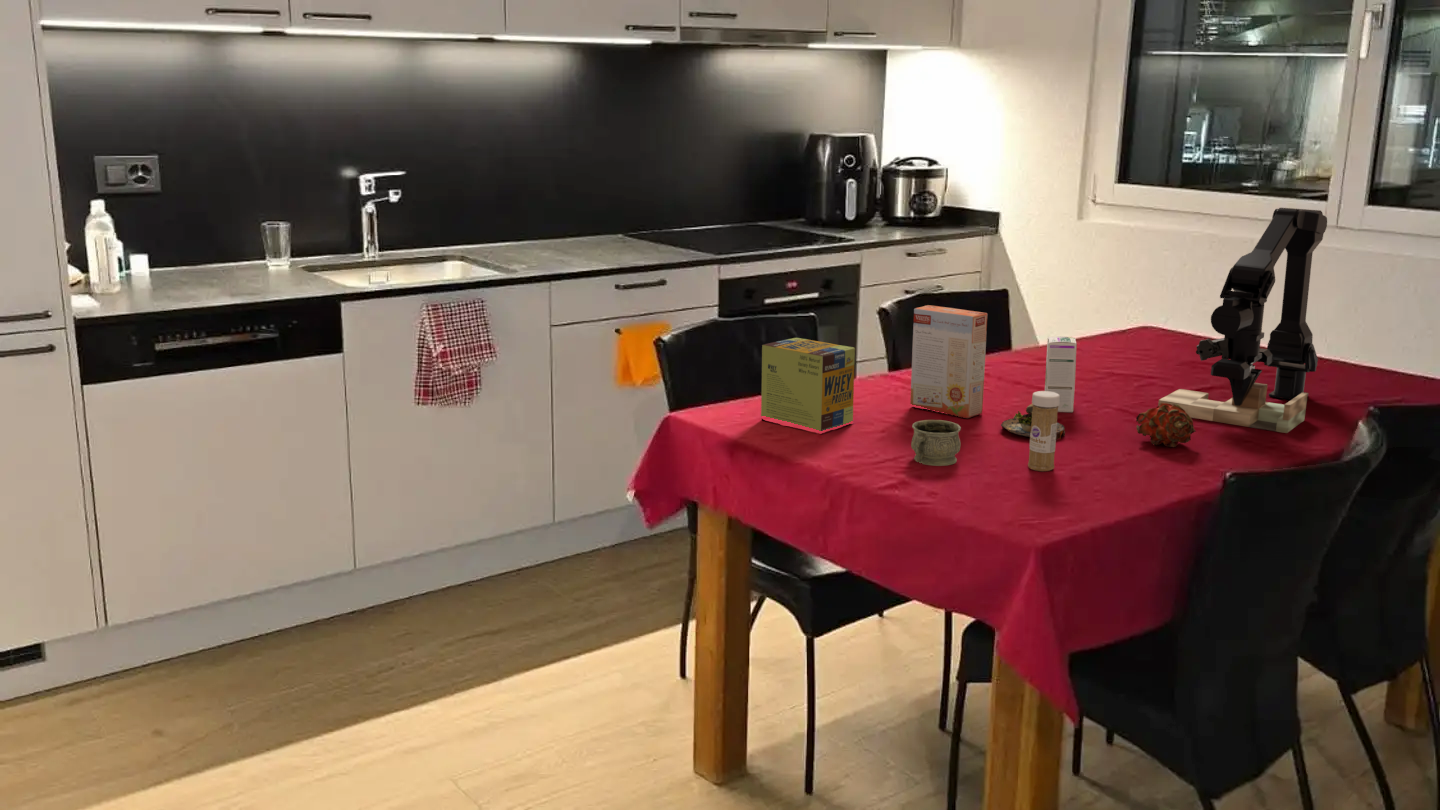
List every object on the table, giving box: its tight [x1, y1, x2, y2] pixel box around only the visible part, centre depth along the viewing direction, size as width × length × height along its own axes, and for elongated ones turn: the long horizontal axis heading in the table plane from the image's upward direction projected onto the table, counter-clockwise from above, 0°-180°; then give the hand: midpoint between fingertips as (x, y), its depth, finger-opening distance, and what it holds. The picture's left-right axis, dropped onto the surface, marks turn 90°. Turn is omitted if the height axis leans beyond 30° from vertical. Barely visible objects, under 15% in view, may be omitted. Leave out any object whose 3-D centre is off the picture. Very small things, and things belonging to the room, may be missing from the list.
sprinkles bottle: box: [1027, 390, 1060, 472], centre depth 222 cm, size 5×5×14 cm
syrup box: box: [1044, 336, 1078, 413], centre depth 261 cm, size 6×6×14 cm
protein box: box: [760, 337, 856, 431], centre depth 250 cm, size 10×15×16 cm
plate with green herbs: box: [1000, 403, 1066, 441], centre depth 244 cm, size 12×12×8 cm
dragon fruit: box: [1135, 402, 1197, 448], centre depth 237 cm, size 8×8×12 cm
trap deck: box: [1157, 388, 1309, 434], centre depth 256 cm, size 12×25×6 cm, turn 51°
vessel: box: [910, 419, 962, 467], centre depth 228 cm, size 12×9×6 cm
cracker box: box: [909, 304, 988, 419], centre depth 258 cm, size 14×6×21 cm, turn 47°
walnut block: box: [1231, 382, 1269, 409], centre depth 256 cm, size 5×5×4 cm
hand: (1237, 405), depth 253 cm, fingers closed
